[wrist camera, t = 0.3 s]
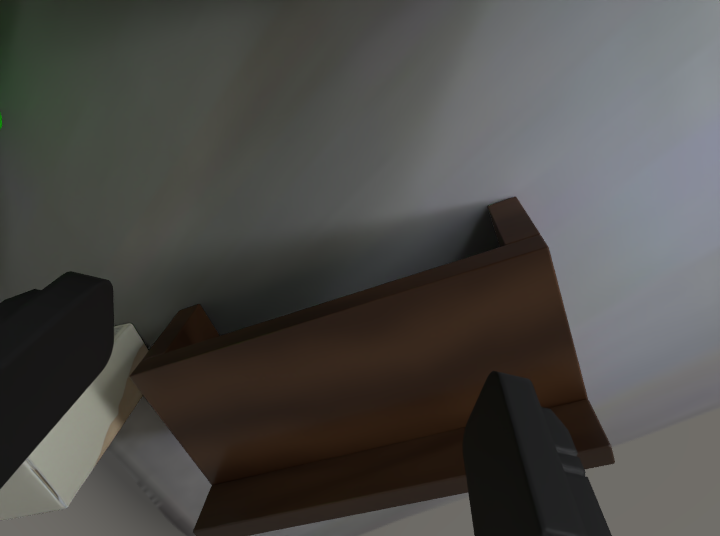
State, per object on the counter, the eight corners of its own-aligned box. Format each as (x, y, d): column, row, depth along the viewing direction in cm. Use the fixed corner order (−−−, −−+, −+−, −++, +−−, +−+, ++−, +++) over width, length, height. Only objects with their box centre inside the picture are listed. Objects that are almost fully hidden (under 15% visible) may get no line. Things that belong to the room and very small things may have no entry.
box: (101, 383, 35) (-17, 525, 25) (69, 335, 33) (-72, 469, 23) (164, 369, 34) (67, 512, 24) (134, 320, 32) (16, 452, 22)
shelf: (179, 310, 31) (96, 418, 23) (515, 195, 26) (571, 281, 18) (250, 418, 35) (202, 545, 27) (555, 338, 30) (616, 464, 22)
